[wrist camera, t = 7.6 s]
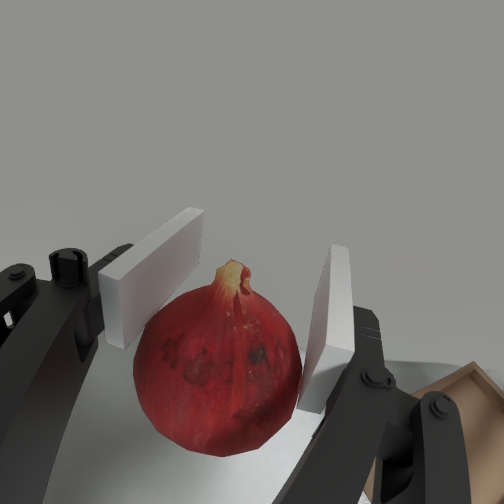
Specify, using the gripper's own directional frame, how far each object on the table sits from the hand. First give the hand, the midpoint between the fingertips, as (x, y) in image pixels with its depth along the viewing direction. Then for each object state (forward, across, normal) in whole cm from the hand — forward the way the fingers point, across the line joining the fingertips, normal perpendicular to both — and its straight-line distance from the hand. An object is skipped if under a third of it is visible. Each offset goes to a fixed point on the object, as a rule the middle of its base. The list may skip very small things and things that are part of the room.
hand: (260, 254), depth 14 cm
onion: (-5, 0, -6) cm, 8 cm away
